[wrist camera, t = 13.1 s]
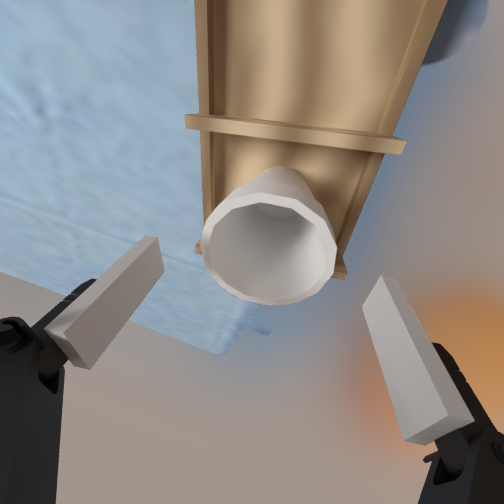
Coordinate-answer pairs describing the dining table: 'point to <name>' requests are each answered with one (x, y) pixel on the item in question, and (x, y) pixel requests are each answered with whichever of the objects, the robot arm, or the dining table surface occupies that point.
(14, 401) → the robot arm
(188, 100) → the dining table surface
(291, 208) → the foam cup
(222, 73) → the rack
